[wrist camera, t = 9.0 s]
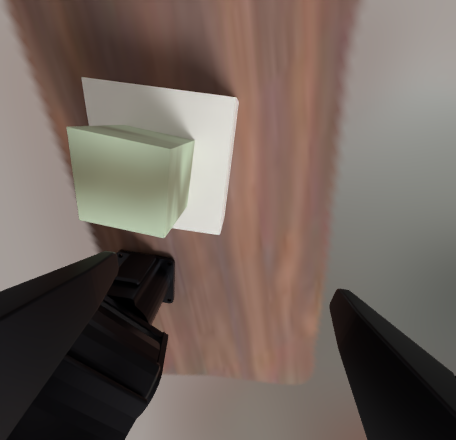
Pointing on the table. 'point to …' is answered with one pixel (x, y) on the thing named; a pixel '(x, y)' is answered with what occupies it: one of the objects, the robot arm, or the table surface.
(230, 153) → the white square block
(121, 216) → the green cube
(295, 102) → the table surface
